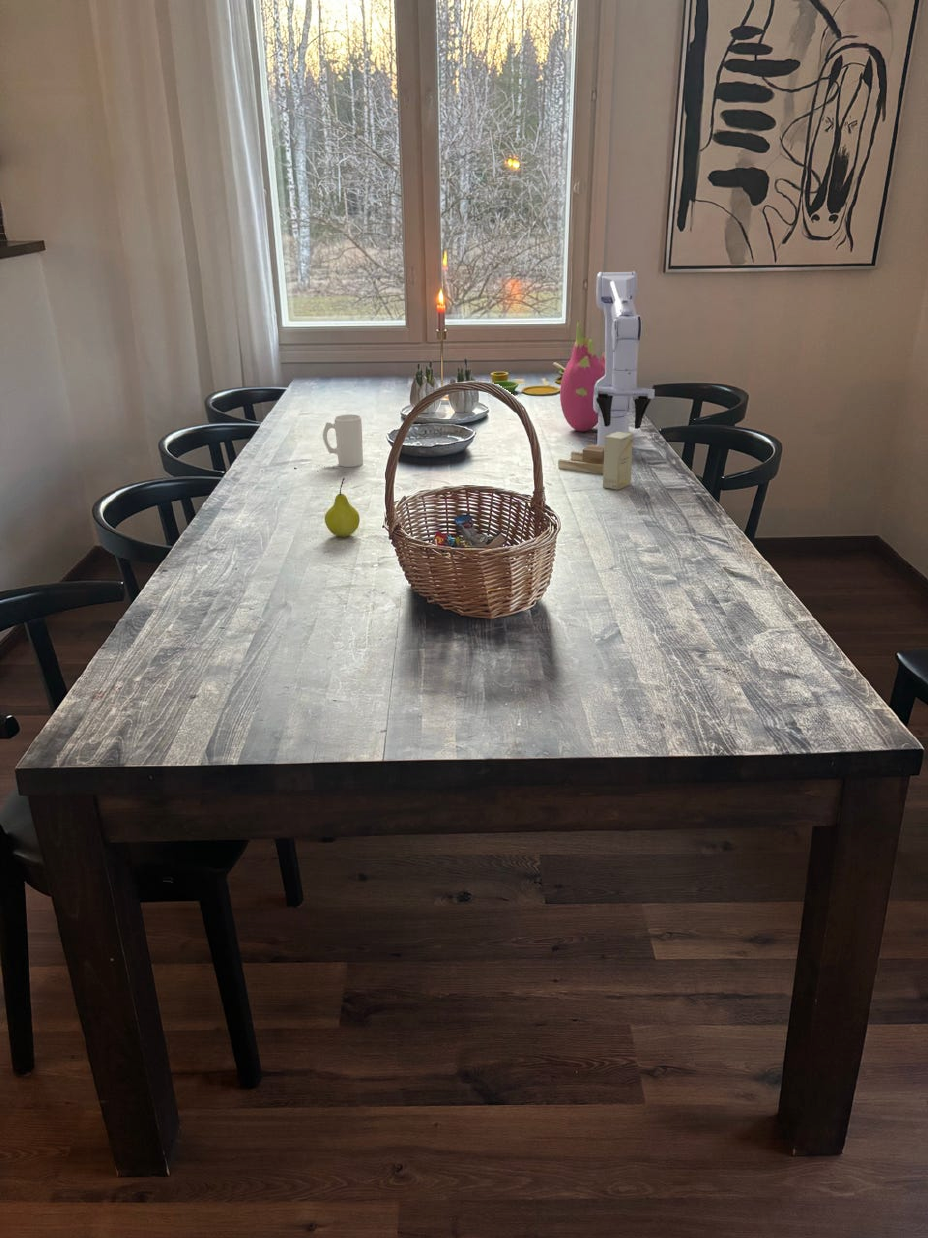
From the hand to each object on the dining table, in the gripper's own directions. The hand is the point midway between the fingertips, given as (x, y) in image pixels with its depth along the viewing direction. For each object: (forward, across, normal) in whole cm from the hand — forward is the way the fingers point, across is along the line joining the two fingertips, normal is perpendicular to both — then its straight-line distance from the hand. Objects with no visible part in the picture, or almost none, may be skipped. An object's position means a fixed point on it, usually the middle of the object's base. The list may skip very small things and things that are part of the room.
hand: (622, 426), depth 232 cm
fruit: (+14, -36, -67) cm, 77 cm away
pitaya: (+8, -23, +33) cm, 41 cm away
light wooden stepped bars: (+11, -9, +1) cm, 14 cm away
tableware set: (+5, -56, +83) cm, 100 cm away
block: (+11, -7, +1) cm, 13 cm away
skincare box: (+12, +3, -11) cm, 16 cm away
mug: (+10, -66, -23) cm, 71 cm away
